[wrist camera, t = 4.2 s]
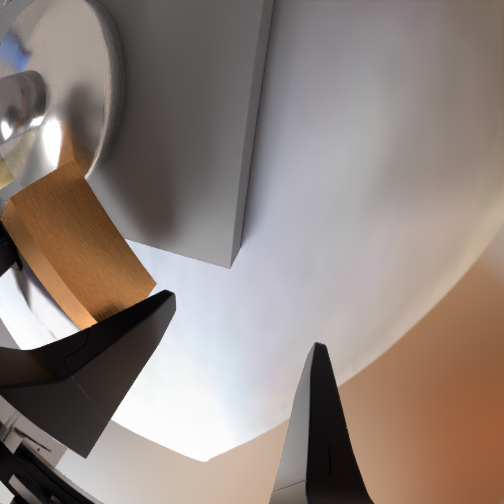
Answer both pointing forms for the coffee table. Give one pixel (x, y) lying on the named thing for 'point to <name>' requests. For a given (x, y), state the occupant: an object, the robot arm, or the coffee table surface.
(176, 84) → the base plate
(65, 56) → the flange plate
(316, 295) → the coffee table surface
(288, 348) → the coffee table surface
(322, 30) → the coffee table surface
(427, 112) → the coffee table surface
